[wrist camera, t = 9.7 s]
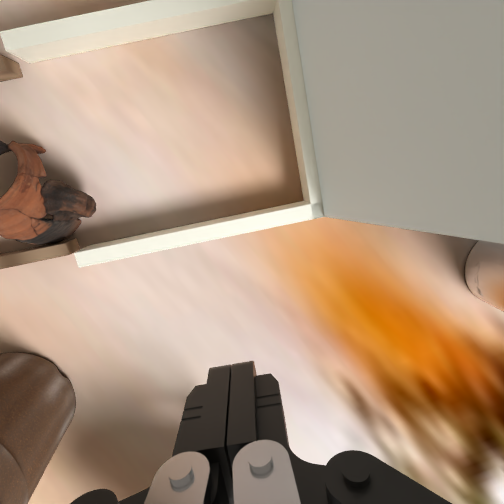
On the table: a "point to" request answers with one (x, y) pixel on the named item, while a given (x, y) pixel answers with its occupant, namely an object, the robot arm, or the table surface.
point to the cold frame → (345, 108)
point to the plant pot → (30, 421)
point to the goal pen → (7, 70)
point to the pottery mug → (39, 202)
